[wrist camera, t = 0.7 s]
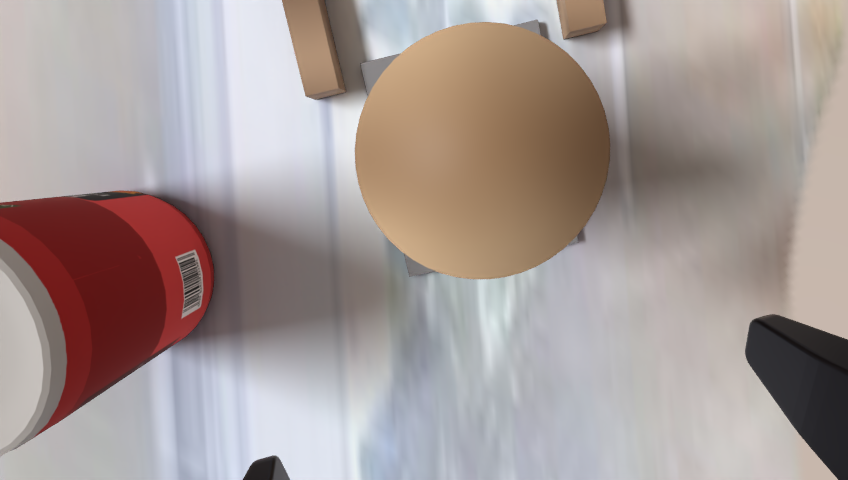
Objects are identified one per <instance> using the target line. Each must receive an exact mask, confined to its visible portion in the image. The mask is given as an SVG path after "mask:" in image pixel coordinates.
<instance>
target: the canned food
mask: <svg viewBox="0 0 848 480" xmlns="http://www.w3.org/2000/svg"><path fill="white" fill-rule="evenodd" d="M213 285H214V268H213V263H212V258H211V254H210V251H209V249H208V246H207V244H206V242H205V239H204V238H203V236H202V235H201V233H200V232H199V230H198V229H197V227H196V226H195V225H194V223H193V222H192V221H191V220H190V219H189V218H188V217H187V216H186V215H185V214H184V213H182V212H181V211H180V210H178V209H177V208H176V207H174V206H173V205H171V204H169V203H167V202H165V201H163V200H161V199H158V198H156V197H153V196H150V195H147V194H143V193H139V192H135V191H112V192H102V193H92V194H82V195H72V196H62V197H53V198H43V199H33V200H23V201H13V202H3V203H0V456H2V455H4V454H5V453H7V452H8V451H11V450H14V449H16V448H18V447H19V446H21V445H23V444H24V443H26V442H28V441H29V440H31V439H33V438H34V437H36V436H37V435H39V434H40V433H42V432H43V431H45V430H46V429H48V428H50V427H51V426H53V425H55V424H56V423H58V422H59V421H61V420H62V419H64V418H65V417H67V416H68V415H70V414H71V413H73V412H74V411H76V410H77V409H79V408H80V407H82V406H83V405H85V404H86V403H88V402H89V401H91V400H92V399H94V398H95V397H97V396H98V395H100V394H101V393H103V392H104V391H106V390H107V389H109V388H110V387H112V386H113V385H115V384H116V383H118V382H119V381H120V380H122V379H123V378H125V377H126V376H128V375H129V374H131V373H132V372H134V371H135V370H137V369H138V368H140V367H141V366H143V365H144V364H146V363H147V362H149V361H150V360H152V359H153V358H155V357H156V356H158V355H159V354H161V353H162V352H164V351H165V350H167V349H168V348H170V347H171V346H173V345H174V344H176V343H177V342H179V341H180V340H182V339H183V338H185V337H186V336H187V335H188V334H189V333H190V332H191V331H192V330H193V329H194V328H195V327H196V326H197V324H198V323H199V321H200V320H201V318H202V317H203V315H204V313H205V311H206V309H207V307H208V304H209V302H210V299H211V296H212V292H213Z"/></svg>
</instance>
